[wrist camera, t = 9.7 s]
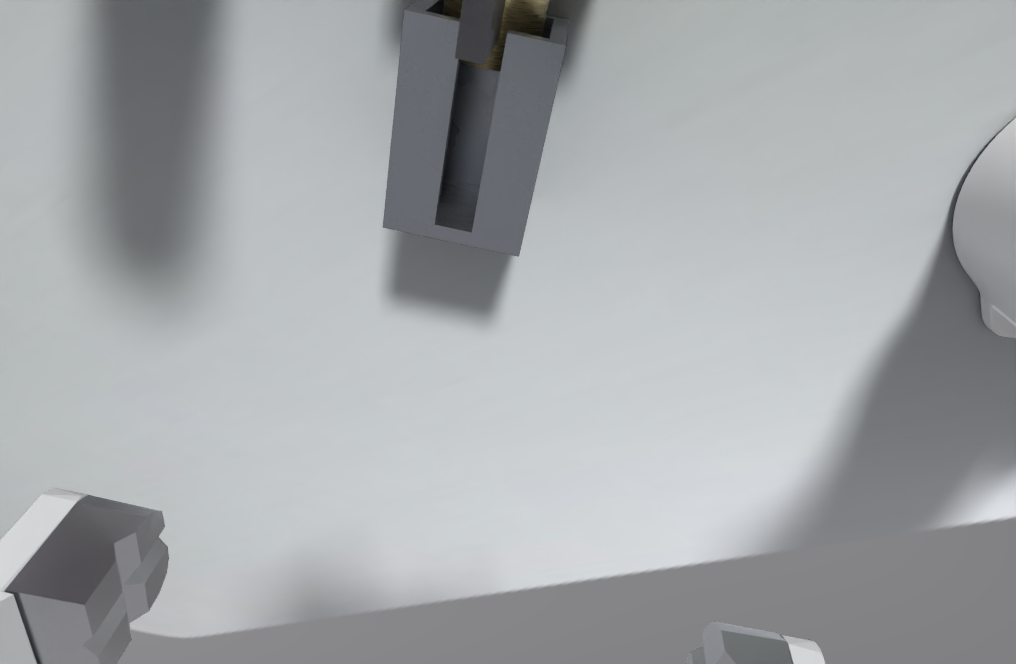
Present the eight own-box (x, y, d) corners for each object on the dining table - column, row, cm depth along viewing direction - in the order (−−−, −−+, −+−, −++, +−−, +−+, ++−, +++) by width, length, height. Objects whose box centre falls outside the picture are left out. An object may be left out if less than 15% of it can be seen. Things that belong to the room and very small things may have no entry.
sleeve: (568, 19, 37) (566, 45, 31) (528, 203, 43) (518, 256, 37) (434, -11, 37) (404, 9, 31) (411, 178, 43) (382, 227, 37)
